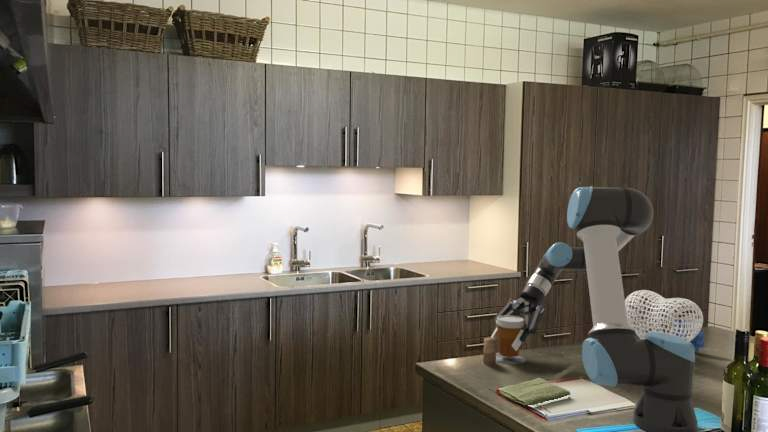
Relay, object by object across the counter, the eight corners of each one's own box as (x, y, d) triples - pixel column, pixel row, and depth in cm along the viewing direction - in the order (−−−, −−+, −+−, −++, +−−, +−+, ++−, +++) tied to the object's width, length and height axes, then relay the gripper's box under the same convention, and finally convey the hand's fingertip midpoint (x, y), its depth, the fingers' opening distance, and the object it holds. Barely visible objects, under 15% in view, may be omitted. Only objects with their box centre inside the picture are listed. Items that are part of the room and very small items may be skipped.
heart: (611, 349, 235) (614, 288, 233) (640, 344, 243) (644, 285, 241) (679, 372, 211) (684, 304, 209) (710, 366, 218) (714, 300, 216)
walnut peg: (491, 366, 208) (492, 341, 208) (480, 363, 211) (481, 339, 210) (498, 363, 211) (499, 339, 211) (487, 360, 214) (488, 336, 213)
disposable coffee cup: (490, 355, 215) (491, 319, 214) (499, 348, 223) (501, 313, 222) (519, 360, 210) (520, 323, 209) (527, 352, 219) (528, 317, 218)
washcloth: (495, 395, 187) (495, 385, 187) (540, 386, 196) (540, 375, 196) (527, 411, 176) (528, 400, 176) (573, 400, 185) (574, 389, 185)
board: (509, 376, 203) (509, 372, 203) (474, 367, 211) (475, 363, 211) (539, 361, 219) (539, 357, 218) (505, 353, 226) (506, 350, 226)
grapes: (665, 350, 236) (667, 317, 235) (672, 346, 241) (675, 314, 240) (699, 357, 228) (701, 323, 227) (706, 354, 233) (708, 320, 232)
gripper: (566, 303, 217) (534, 359, 208) (515, 292, 233) (483, 343, 224) (557, 289, 213) (524, 346, 204) (506, 279, 229) (473, 331, 220)
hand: (503, 344), depth 214 cm, fingers closed on disposable coffee cup, 8 cm apart
